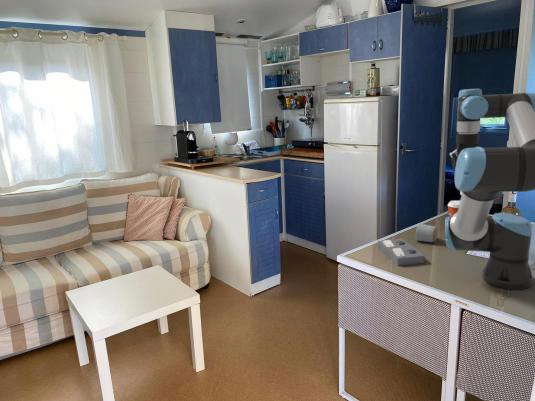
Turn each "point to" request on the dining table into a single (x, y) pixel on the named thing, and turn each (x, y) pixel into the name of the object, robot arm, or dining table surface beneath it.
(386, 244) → the rocker
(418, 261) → the rocker switch box
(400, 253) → the rocker
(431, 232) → the ceramic mug
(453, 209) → the paper cup
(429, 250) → the dining table surface
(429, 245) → the dining table surface
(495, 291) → the dining table surface
